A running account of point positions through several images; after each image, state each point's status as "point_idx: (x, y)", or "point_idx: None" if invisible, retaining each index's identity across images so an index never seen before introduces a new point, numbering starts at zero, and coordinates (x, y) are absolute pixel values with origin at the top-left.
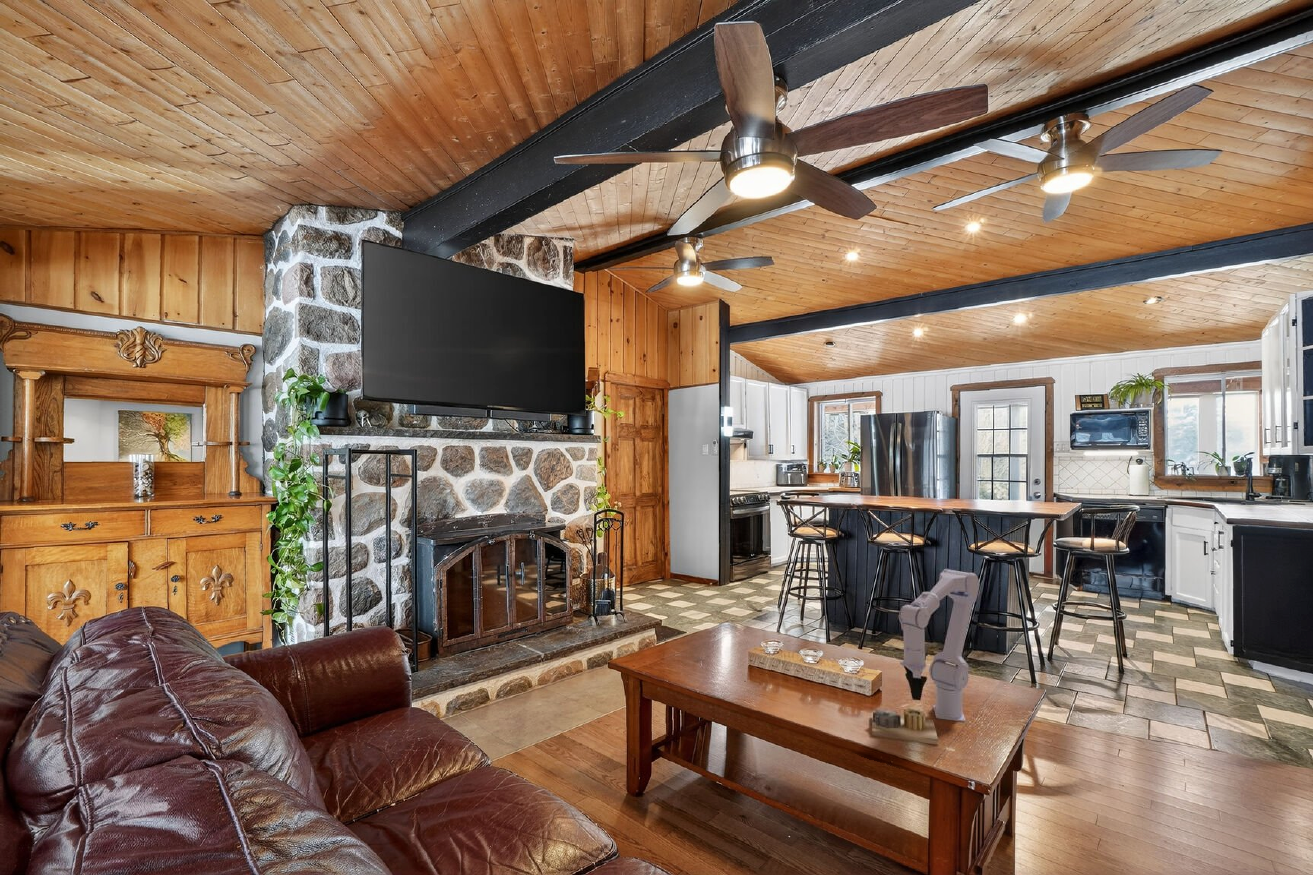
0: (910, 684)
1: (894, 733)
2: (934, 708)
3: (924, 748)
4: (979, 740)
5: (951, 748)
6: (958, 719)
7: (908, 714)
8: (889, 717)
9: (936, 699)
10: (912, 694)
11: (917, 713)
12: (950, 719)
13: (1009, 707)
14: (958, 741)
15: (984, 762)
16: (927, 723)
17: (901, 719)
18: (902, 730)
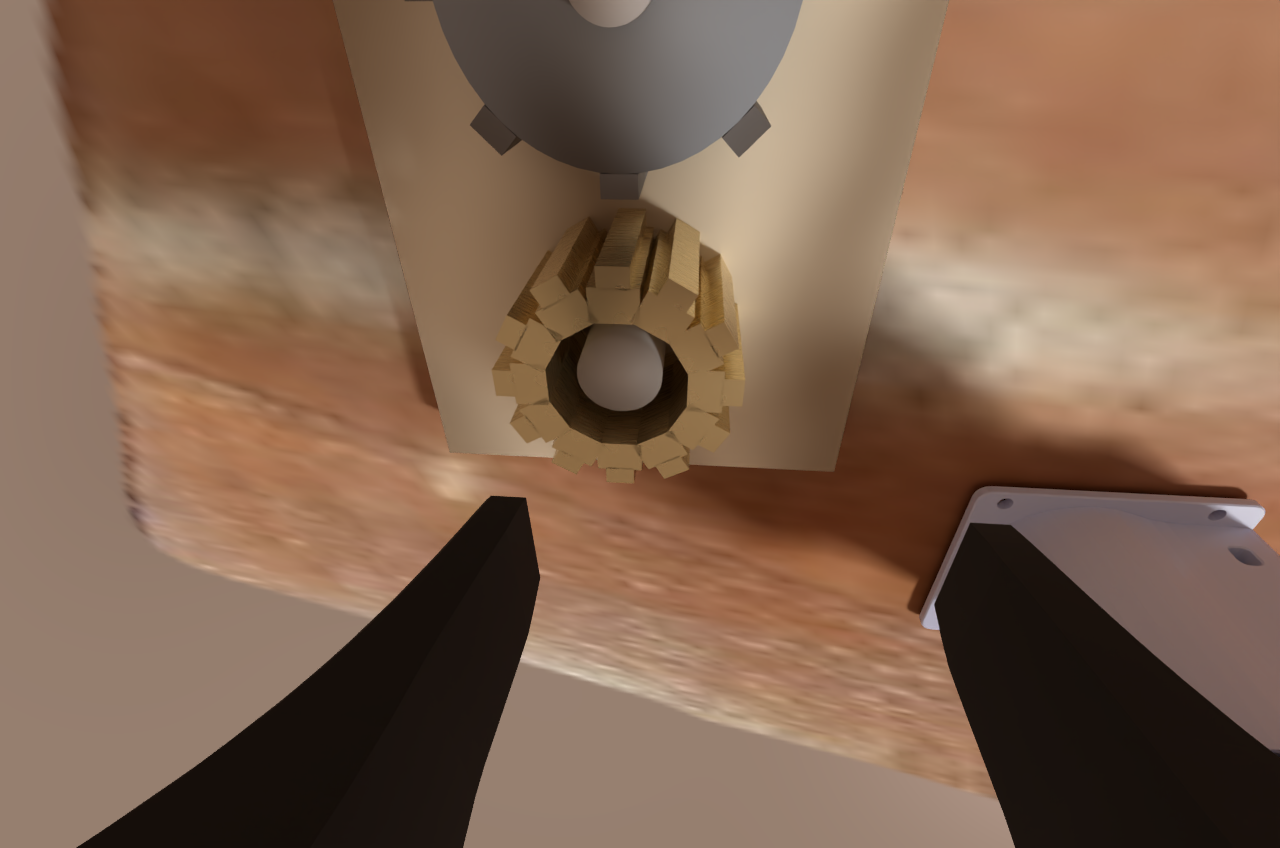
0: (228, 760)
1: (356, 79)
2: (1180, 504)
3: (359, 329)
4: (654, 622)
5: (465, 487)
6: (934, 600)
7: (539, 314)
8: (501, 23)
9: (1151, 599)
10: (445, 560)
11: (673, 406)
12: (945, 559)
13: None
14: (594, 536)
15: (379, 589)
16: (743, 423)
17: (790, 192)
18: (482, 181)
